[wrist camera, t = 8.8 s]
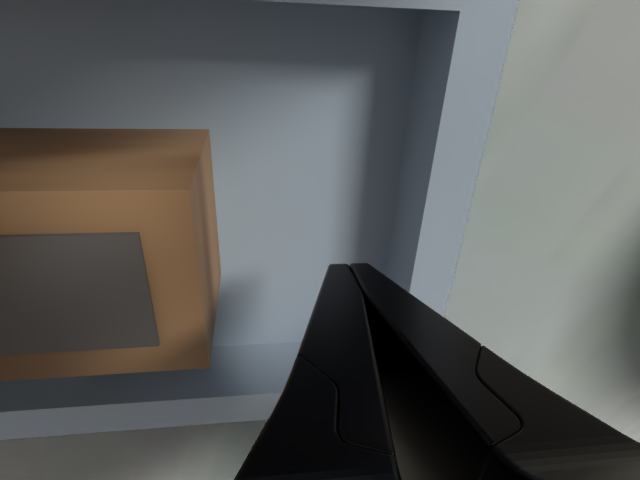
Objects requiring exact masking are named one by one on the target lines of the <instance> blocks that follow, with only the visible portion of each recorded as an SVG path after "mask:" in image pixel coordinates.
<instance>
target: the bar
mask: <svg viewBox="0 0 640 480" xmlns="http://www.w3.org/2000/svg"><path fill="white" fill-rule="evenodd" d="M220 278H221V264H220V252H219V240H218V228H217V216H216V204H215V192H214V180H213V168H212V156H211V144H210V132H209V129H86V128H0V381H12V380H28V379H44V378H60V377H76V376H92V375H108V374H124V373H140V372H156V371H172V370H188V369H204V368H210V359H211V351H212V343H213V335H214V327H215V319H216V311H217V303H218V294H219V286H220Z"/></svg>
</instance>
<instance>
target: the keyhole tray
mask: <svg viewBox="0 0 640 480" xmlns="http://www.w3.org/2000/svg"><path fill="white" fill-rule="evenodd" d="M518 4H519V0H0V128H86V129H209V132H210V144H211V156H212V168H213V180H214V192H215V204H216V216H217V228H218V240H219V252H220V264H221V278H220V286H219V294H218V303H217V311H216V319H215V327H214V335H213V343H212V351H211V359H210V368H204V369H188V370H172V371H156V372H140V373H124V374H108V375H92V376H76V377H60V378H44V379H28V380H12V381H0V440H10V439H23V438H36V437H49V436H62V435H75V434H88V433H101V432H114V431H127V430H140V429H153V428H166V427H179V426H192V425H205V424H218V423H231V422H244V421H257V420H268V419H269V417H270V415H271V413H272V412H273V410H274V408H275V406H276V404H277V402H278V400H279V398H280V396H281V394H282V392H283V390H284V387H285V385H286V382H287V380H288V377H289V375H290V373H291V370H292V367H293V364H294V361H295V359H296V357H297V354H298V351H299V348H300V345H301V342H302V339H303V337H304V334H305V331H306V328H307V325H308V322H309V320H310V317H311V314H312V311H313V308H314V305H315V303H316V300H317V297H318V294H319V291H320V288H321V285H322V283H323V280H324V277H325V274H326V271H327V268H328V266H329V265H330V264H344V263H345V264H348V265H349V264H351V263H368V264H370V265H371V266H373V267H374V268H375V269H377V270H378V271H380V272H381V273H382V274H384V275H385V276H387V277H388V278H389V279H391V280H392V281H394V282H395V283H396V284H398V285H399V286H401V287H402V288H403V289H405V290H406V291H408V292H409V293H410V294H412V295H413V296H415V297H416V298H417V299H419V300H420V301H422V302H423V303H424V304H426V305H427V306H429V307H430V308H432V309H433V310H434V311H436V312H437V313H439V314H440V315H441V316H443V317H444V316H445V312H446V307H447V303H448V299H449V295H450V290H451V286H452V282H453V278H454V274H455V269H456V265H457V261H458V257H459V252H460V248H461V244H462V240H463V236H464V231H465V227H466V223H467V219H468V215H469V210H470V206H471V202H472V198H473V193H474V189H475V185H476V181H477V177H478V172H479V168H480V164H481V160H482V155H483V151H484V147H485V143H486V139H487V134H488V130H489V126H490V122H491V118H492V113H493V109H494V105H495V101H496V96H497V92H498V88H499V84H500V80H501V75H502V71H503V67H504V63H505V58H506V54H507V50H508V46H509V42H510V37H511V33H512V29H513V25H514V21H515V16H516V12H517V8H518Z"/></svg>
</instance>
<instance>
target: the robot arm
mask: <svg viewBox="0 0 640 480" xmlns="http://www.w3.org/2000/svg"><path fill="white" fill-rule="evenodd" d="M234 480H640V443H639V442H637V441H635V440H633V439H631V438H629V437H628V436H626V435H624V434H622V433H621V432H619V431H617V430H616V429H614V428H612V427H611V426H609V425H607V424H606V423H604V422H602V421H601V420H599V419H597V418H596V417H594V416H592V415H591V414H589V413H588V412H586V411H584V410H583V409H581V408H579V407H578V406H576V405H574V404H573V403H571V402H569V401H568V400H566V399H564V398H563V397H561V396H559V395H558V394H556V393H554V392H553V391H551V390H550V389H548V388H546V387H545V386H543V385H542V384H540V383H538V382H537V381H535V380H534V379H532V378H530V377H529V376H527V375H526V374H524V373H522V372H521V371H520V370H518V369H517V368H515V367H514V366H512V365H511V364H509V363H508V362H506V361H505V360H503V359H502V358H500V357H499V356H498V355H496V354H495V353H493V352H492V351H491V350H489V349H488V348H486V347H485V346H481V344H480V343H479V342H478V341H476V340H475V339H474V338H472V337H471V336H469V335H468V334H467V333H465V332H464V331H462V330H461V329H460V328H458V327H457V326H455V325H454V324H453V323H451V322H450V321H448V320H447V319H446V318H444V317H443V316H441V315H440V314H439V313H437V312H436V311H434V310H433V309H432V308H430V307H429V306H427V305H426V304H424V303H423V302H422V301H420V300H419V299H417V298H416V297H415V296H413V295H412V294H410V293H409V292H408V291H406V290H405V289H403V288H402V287H401V286H399V285H398V284H396V283H395V282H394V281H392V280H391V279H389V278H388V277H387V276H385V275H384V274H382V273H381V272H380V271H378V270H377V269H375V268H374V267H373V266H371V265H370V264H368V263H351V264H349V265H348V264H345V263H344V264H330V265H329V266H328V268H327V271H326V274H325V277H324V280H323V283H322V285H321V288H320V291H319V294H318V297H317V300H316V303H315V305H314V308H313V311H312V314H311V317H310V320H309V322H308V325H307V328H306V331H305V334H304V337H303V339H302V342H301V345H300V348H299V351H298V354H297V357H296V359H295V361H294V364H293V367H292V370H291V373H290V375H289V377H288V380H287V382H286V385H285V387H284V390H283V392H282V394H281V396H280V398H279V400H278V402H277V404H276V406H275V408H274V410H273V412H272V413H271V415H270V417H269V419H268V421H267V422H266V424H265V426H264V428H263V429H262V431H261V433H260V435H259V437H258V438H257V440H256V442H255V444H254V445H253V447H252V449H251V451H250V453H249V454H248V456H247V458H246V460H245V461H244V463H243V465H242V467H241V469H240V470H239V472H238V474H237V475H236V477H235V479H234Z"/></svg>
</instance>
